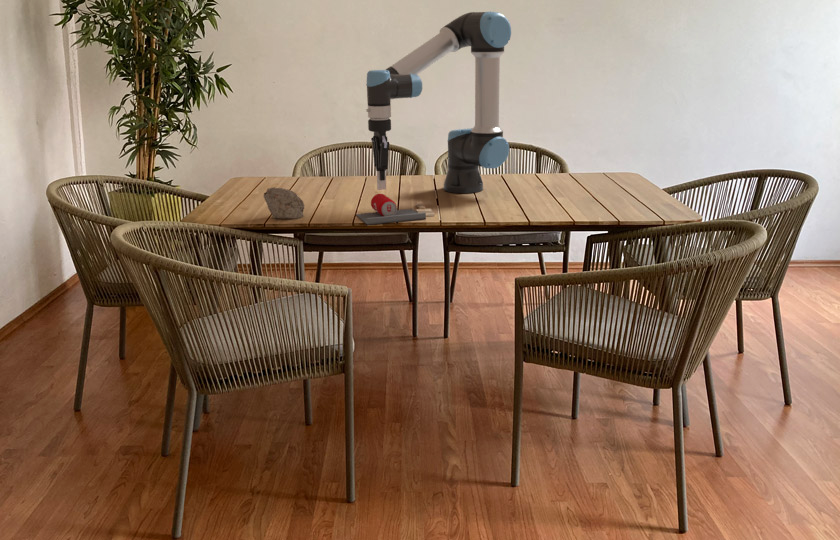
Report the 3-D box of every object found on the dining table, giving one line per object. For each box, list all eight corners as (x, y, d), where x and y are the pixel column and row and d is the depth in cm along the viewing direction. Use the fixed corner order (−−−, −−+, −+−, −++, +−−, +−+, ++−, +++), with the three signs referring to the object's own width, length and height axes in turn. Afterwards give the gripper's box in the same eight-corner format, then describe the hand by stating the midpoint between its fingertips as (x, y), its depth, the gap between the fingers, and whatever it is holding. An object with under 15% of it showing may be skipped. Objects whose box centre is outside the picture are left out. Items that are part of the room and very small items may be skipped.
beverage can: (370, 211, 273) (380, 219, 262) (369, 194, 271) (379, 201, 260) (388, 210, 275) (398, 217, 264) (387, 192, 273) (398, 199, 262)
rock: (298, 193, 275) (307, 189, 268) (298, 223, 274) (307, 219, 267) (260, 189, 268) (268, 185, 261) (259, 219, 267) (267, 216, 260)
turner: (411, 205, 282) (411, 202, 281) (425, 204, 283) (425, 201, 282) (419, 216, 266) (419, 213, 265) (434, 216, 267) (434, 212, 266)
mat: (412, 209, 276) (411, 204, 275) (425, 219, 263) (425, 213, 262) (356, 215, 269) (355, 209, 269) (367, 224, 257) (367, 218, 256)
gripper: (363, 117, 266) (365, 186, 273) (374, 121, 254) (376, 194, 262) (384, 115, 268) (386, 184, 276) (396, 120, 257) (398, 192, 264)
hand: (381, 189), depth 269 cm, fingers closed
